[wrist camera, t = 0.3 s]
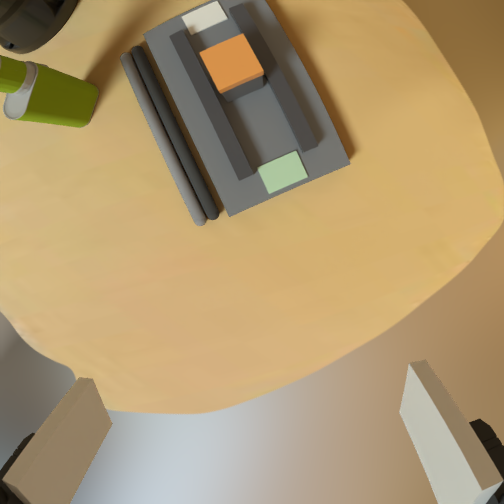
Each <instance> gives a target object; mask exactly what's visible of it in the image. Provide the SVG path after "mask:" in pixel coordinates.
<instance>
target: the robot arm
mask: <svg viewBox="0 0 504 504" xmlns="http://www.w3.org/2000/svg"><path fill="white" fill-rule="evenodd" d="M77 1H78V0H0V45H1V46H2V47H3V48H4V49H6V50H8V51H11V52H14V53H17V54H25V53H29V52H32V51H34V50H36V49H38V48H39V47H41V46H42V45H44V44H45V43H46V42H48V41H49V40H50V39H51V38H52V37H53V36H54V35H55V34H56V33H57V32H58V31H59V30H60V29H61V28H62V26H63V25H64V24H65V22H66V21H67V20H68V18H69V17H70V15H71V13H72V12H73V10H74V8H75V6H76V3H77ZM399 413H400V415H401V417H402V419H403V421H404V423H405V426H406V428H407V430H408V432H409V435H410V437H411V439H412V442H413V444H414V446H415V448H416V451H417V453H418V455H419V458H420V460H421V462H422V465H423V467H424V469H425V472H426V474H427V476H428V479H429V482H430V484H431V487H432V489H433V491H434V494H435V497H436V499H437V502H438V504H504V446H503V445H502V443H501V441H500V440H499V438H497V437H496V434H495V432H494V431H493V429H492V428H491V427H490V425H488V424H487V423H485V422H484V421H482V420H481V419H477V420H475V421H472V422H468V421H467V419H466V418H465V416H464V415H463V413H462V412H461V410H460V409H459V407H458V406H457V404H456V403H455V401H454V400H453V398H452V397H451V395H450V394H449V392H448V391H447V389H446V388H445V386H444V385H443V384H442V382H441V381H440V379H439V378H438V377H437V375H436V374H435V372H434V371H433V369H432V368H431V366H430V365H429V364H428V362H427V361H426V360H422V361H417V362H413V363H409V366H408V373H407V378H406V383H405V389H404V394H403V399H402V404H401V408H400V412H399ZM111 425H112V422H111V420H110V417H109V415H108V413H107V411H106V409H105V406H104V404H103V402H102V400H101V397H100V395H99V393H98V390H97V388H96V385H95V383H94V381H93V379H89V378H80V377H79V378H78V380H77V381H76V382H75V383H74V385H73V386H72V387H71V388H70V390H69V391H68V392H67V393H66V395H65V396H64V397H63V399H62V400H61V401H60V403H59V404H58V405H57V407H55V409H54V410H53V411H52V413H51V414H50V415H49V417H48V418H47V419H46V420H45V422H44V423H43V425H42V426H41V427H40V429H39V430H38V431H37V432H36V434H35V433H32V434H30V435H29V436H28V437H26V438H25V439H24V440H23V441H22V442H21V444H20V445H19V446H18V449H16V450H15V451H14V453H13V456H11V457H10V458H9V460H8V461H7V462H6V463H5V465H4V466H3V468H2V469H1V470H0V504H70V502H71V501H72V499H73V496H74V495H75V493H76V491H77V489H78V487H79V485H80V483H81V481H82V479H83V478H84V475H85V474H86V472H87V470H88V468H89V466H90V464H91V462H92V460H93V459H94V457H95V455H96V453H97V451H98V449H99V448H100V446H101V444H102V442H103V440H104V438H105V437H106V435H107V433H108V431H109V429H110V428H111Z"/></svg>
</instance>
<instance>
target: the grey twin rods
mask: <svg viewBox="0 0 504 504" xmlns="http://www.w3.org/2000/svg"><path fill="white" fill-rule="evenodd" d="M131 52H132V55H133V57H134V60H135V62H136V64H137V66H138V69H139V71H140V73H141V75H142V78H143V80H144V82H145V84H146V86H147V89H148V91H149V93H150V95H151V98H152V100H153V102H154V104H155V106H156V109H157V111H158V113H159V115H160V117H161V119H162V122H163V124H164V126H165V128H166V130H167V132H168V135H169V137H170V139H171V141H172V143H173V145H174V148H175V150H176V152H177V154H178V156H179V158H180V160H181V163H182V165H183V167H184V169H185V171H186V173H187V175H188V177H189V179H190V182H191V184H192V186H193V188H194V190H195V192H196V194H197V196H198V198H199V200H200V203H201V205H202V207H203V209H204V211H205V213H206V215H207V217H208V218H209V219H211V220H215V219H217V218H218V217H219V210H218V208H217V206H216V204H215V202H214V200H213V198H212V196H211V194H210V192H209V190H208V187H207V185H206V183H205V181H204V179H203V177H202V175H201V173H200V171H199V168H198V166H197V164H196V162H195V160H194V158H193V156H192V154H191V152H190V149H189V147H188V145H187V143H186V141H185V139H184V137H183V135H182V132H181V130H180V128H179V126H178V124H177V122H176V120H175V117H174V115H173V113H172V111H171V109H170V107H169V105H168V102H167V100H166V98H165V96H164V94H163V92H162V90H161V87H160V85H159V83H158V81H157V79H156V77H155V74H154V72H153V70H152V68H151V66H150V64H149V61H148V59H147V57H146V55H145V53H144V50H143V48H142V47H141V46H134V47H133V48H132V51H131ZM120 60H121V63H122V65H123V67H124V70H125V72H126V74H127V77H128V79H129V81H130V84H131V86H132V88H133V91H134V93H135V95H136V97H137V100H138V102H139V104H140V107H141V109H142V111H143V113H144V116H145V118H146V120H147V122H148V124H149V127H150V129H151V131H152V133H153V136H154V138H155V140H156V142H157V144H158V146H159V149H160V151H161V153H162V155H163V157H164V159H165V162H166V164H167V166H168V168H169V170H170V172H171V174H172V177H173V179H174V181H175V183H176V185H177V187H178V189H179V191H180V193H181V196H182V198H183V200H184V202H185V204H186V206H187V208H188V210H189V212H190V214H191V216H192V218H193V220H194V222H195V224H196V225H198V226H203V225H204V224H205V223H206V216H205V214H204V212H203V210H202V208H201V206H200V204H199V202H198V200H197V197H196V195H195V193H194V191H193V189H192V187H191V185H190V183H189V181H188V179H187V176H186V174H185V172H184V170H183V168H182V166H181V164H180V162H179V159H178V157H177V155H176V153H175V151H174V149H173V147H172V144H171V142H170V140H169V138H168V136H167V134H166V132H165V129H164V127H163V125H162V123H161V121H160V118H159V116H158V114H157V112H156V110H155V108H154V105H153V103H152V101H151V99H150V96H149V94H148V92H147V90H146V88H145V85H144V83H143V81H142V79H141V76H140V74H139V72H138V70H137V67H136V65H135V63H134V61H133V58H132V56H131V54H130V53H127V52H126V53H123V54H122V55H121V57H120Z"/></svg>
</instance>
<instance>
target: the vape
mask: <svg viewBox="0 0 504 504" xmlns="http://www.w3.org/2000/svg"><path fill="white" fill-rule="evenodd" d="M0 92H5V93H7V95H6V98H5V102H4V105H3V112H4V114H5V116H6V117H7V118H9V119H12V120H22V121H31V122H40V123H48V124H56V125H63V126H71V127H78V128H81V127H84V126H86V125H88V123H89V122H90V120H91V117H92V114H93V110H94V107H95V104H96V102H97V99H98V96H99V90H98V88H97V87H96V86H95V85H93V84H90V83H88V82H85V81H83V80H80V79H78V78H75V77H73V76H70V75H67V74H65V73H62V72H59V71H57V70H54V69H51V68H49V67H48V66H47V65H44V64H38V63H34V62H31V61H26V62H24V61H18V60H15V59H11V58H8V57H5V56H1V55H0Z"/></svg>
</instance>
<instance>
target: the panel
mask: <svg viewBox="0 0 504 504" xmlns="http://www.w3.org/2000/svg"><path fill="white" fill-rule="evenodd" d="M240 34H244V36H245V38H246V39H247V41H248V43H249V45H250V47H251V48H252V50H253V52H254V54H255V56H256V58H257V59H258V61H259V63H260V65H261V67H262V69H263V71H264V75H262V76H263V88H261V89H258V90H256V91H254V92H251V93H249V94H247V95H244V96H242V97H240V98H238V99H236V100H233V101H231V102H229V103H228V102H227V101H226V99H225V98H224V96H223V95H222V93H221V94H220V92H219V91H218V89H217V87H216V85H215V83H214V81H213V79H212V77H211V75H210V73H209V71H208V69H207V67H206V65H205V63H204V61H203V59H202V57H201V55H200V52H202V51H204V50H206V49H208V48H210V47H212V46H215V45H217V44H219V43H221V42H224V41H226V40H228V39H231V38H233V37H235V36H238V35H240ZM143 35H144V37H145V39H146V42H147V44H148V46H149V48H150V50H151V52H152V54H153V57H154V59H155V61H156V63H157V65H158V67H159V69H160V72H161V74H162V76H163V78H164V80H165V82H166V84H167V86H168V89H169V91H170V93H171V95H172V97H173V99H174V101H175V104H176V106H177V108H178V110H179V112H180V114H181V116H182V118H183V120H184V123H185V125H186V127H187V129H188V131H189V133H190V135H191V137H192V140H193V142H194V144H195V146H196V148H197V150H198V152H199V154H200V156H201V159H202V161H203V163H204V165H205V167H206V169H207V171H208V173H209V175H210V178H211V180H212V182H213V184H214V186H215V188H216V190H217V192H218V194H219V197H220V199H221V201H222V203H223V205H224V207H225V209H226V211H227V213H228V215H229V217H231V216H233V215H235V214H237V213H239V212H242V211H244V210H246V209H248V208H250V207H253V206H255V205H257V204H259V203H262V202H264V201H266V200H268V199H271V198H273V197H275V196H277V195H280V194H282V193H284V192H286V191H289V190H291V189H293V188H296V187H298V186H300V185H302V184H305V183H307V182H309V181H312V180H314V179H316V178H319V177H321V176H323V175H326V174H328V173H331V172H333V171H335V170H338V169H340V168H342V167H345V166H347V165H350V161H349V159H348V157H347V154H346V152H345V150H344V147H343V145H342V143H341V141H340V138H339V136H338V134H337V132H336V130H335V127H334V125H333V123H332V121H331V119H330V117H329V115H328V112H327V110H326V108H325V106H324V104H323V102H322V100H321V98H320V96H319V94H318V92H317V90H316V88H315V86H314V84H313V82H312V80H311V79H310V77H309V75H308V73H307V71H306V69H305V67H304V65H303V64H302V62H301V60H300V58H299V56H298V54H297V53H296V51H295V49H294V47H293V46H292V44H291V42H290V40H289V39H288V37H287V35H286V33H285V32H284V30H283V28H282V27H281V25H280V23H279V22H278V20H277V18H276V17H275V15H274V14H273V12H272V10H271V9H270V7H269V6H268V4H267V3H266V1H265V0H211V1H209V2H206V3H204V4H202V5H200V6H197V7H195V8H193V9H191V10H189V11H187V12H184V13H182V14H180V15H178V16H176V17H174V18H172V19H170V20H168V21H166V22H165V23H163V24H161V25H159V26H157V27H155V28H153V29H152V30H150V31H148V32H146V33H144V34H143Z"/></svg>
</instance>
